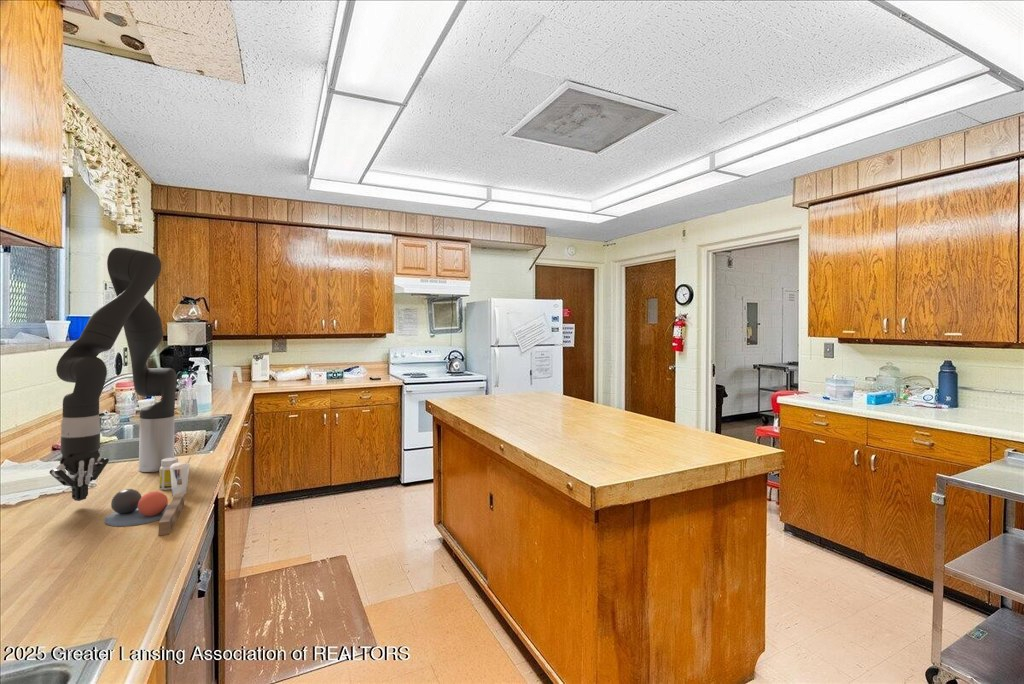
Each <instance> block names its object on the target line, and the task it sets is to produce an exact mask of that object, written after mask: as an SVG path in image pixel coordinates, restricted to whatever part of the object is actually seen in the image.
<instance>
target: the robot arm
mask: <svg viewBox="0 0 1024 684" xmlns="http://www.w3.org/2000/svg"><path fill="white" fill-rule="evenodd" d="M106 267H107V273H108V277H109V278H110V281H111V284H112V287H113V290H114V293H115V296H116V297H114V298H113V299H112V300H109V301H108V302H106V303H105V304H103V305H102V306H100V307H99V308H98V309H97V310H96V311H94V312H93V314H92V315H91V316H90V317H89V319H88V321H87V323H86V324H85V327H84V328H83V330H82V332H81V333H80V336H79V338H78V339H76V340H75V341H74V342H73V343H72V344H71V345H70V346H69V347H68V349H67V350H65V352H64V353H62V355H61V356H60V358H59V360H58V361H57V363H56V369H55V371H56V375H57V377H58V378H59V379H60V380H62V381H63V382H65V383H74V388H73V391H72V392H70V393H67V394H66V395H64V396H63V399H62V418H61V425H60V453H61V459H60V462H59V465H58V466H57V467H55V469H54V468H52V469H50V470H49V474H50V475H51V476H52V477H53V478H55V480H57V481H58V482H59V483H61V485H63V486H65V487H66V486H67V487H71V498H72V499H73V500H74V501H75V502H80V501H84V500H86V499H87V497H88V495H89V484H90V483H91V482H92V481H96V480H97V479H98V477H99V476H100V474H101V473H102V472H103V471H104V469H105V467H106V466H107V464H108V463H109V458H108V457H107V458H106V457H102V456H101V453H100V451H99V449H100V447H101V419H100V399H101V396H102V392H103V389H104V387H105V383H106V380H107V375H108V370H107V369H108V368H107V366H106V363H105V362H104V360H103V359H101V358H100V357H97V356H98V355H100V354H101V353H104V352H107V351H109V350H111V349H112V348H113V346H114V345H115V343H116V340H117V338H118V337H119V335H120V333H121V331H122V329H123V331H124V336H125V339H126V343H127V346H128V351H129V355H130V356H129V357H130V362H131V369H132V370H131V372H132V381H133V388H134V391H135V394H137V395H138V396H140V397H161V399H160V400H159V401H158V402H156V403H154V404H151V405H148V406H145V407H143V408H141V409H140V410H139V432H138V433H139V436H138V437H139V440H138V442H139V443H138V445H139V447H138V471H139V472H141V473H142V472H143V473H155V472H160V467H161V466H162V465H161V460H163V459H166V458H175V410H176V409H175V408H176V390H177V372H176V370H175V369H174V368H171V367H148V366H147V362H148V360H149V358H150V357H151V355H152V354H153V353H154V351H155V350H156V349H157V348H158V347H159V345H160V344H161V342H162V340H163V337H164V331H163V329H164V328H163V325H162V324H163V323H162V320H161V316H160V315H159V312H158V311H157V309H155V308H154V306H153V305H152V303H150V302H149V300H148V299H147V298H146V295H147V294H148V292H149V291H150V290H151V289H152V287H153V286H154V284H155V283H156V281H158V278H159V276H160V274H161V272H162V271H161V270H162V261H161V260H160V257H159V256H158V255H156V254H154V253H152V252H148V251H143V250H138V249H134V248H129V247H121V246H119V247H117V246H116V247H114V248H111V250H110V251H109V253H108V254H107V258H106Z"/></svg>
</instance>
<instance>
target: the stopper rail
mask: <svg viewBox="0 0 1024 684" xmlns="http://www.w3.org/2000/svg"><path fill="white" fill-rule="evenodd" d="M185 495H186V494H185V493H184V494H175V496H173V498H172V500H171V501H170V503H169V504H168V505H169V506H168V508H167V509H166V511H165V513H164V514H163V516H162V518H161V519H160V520H158V521H159V522H158V531H157V532H158V533H157V534H158V536H166V535H170V533H171V532H172V530H173V528H174V525H175V523H176V522H177V520H178V518H179V516H180V514H181V512H182V510H183V508H184V506H185Z"/></svg>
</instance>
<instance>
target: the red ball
mask: <svg viewBox="0 0 1024 684" xmlns="http://www.w3.org/2000/svg"><path fill="white" fill-rule="evenodd" d="M141 497H142V498H141V499H140V500H139V502H138V510H139V512H140V513H141V514H142V515H144V516H156V515H158V514H160V513H162V512H163V511H164V510H165V508H166V507H167V504H168V503H169V502H168V501H169V499H168V497H167V494H165V493H164V492H162V491H158V490H153V491H149V492H148V493H145V494H143V496H141ZM168 505H169V504H168Z"/></svg>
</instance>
